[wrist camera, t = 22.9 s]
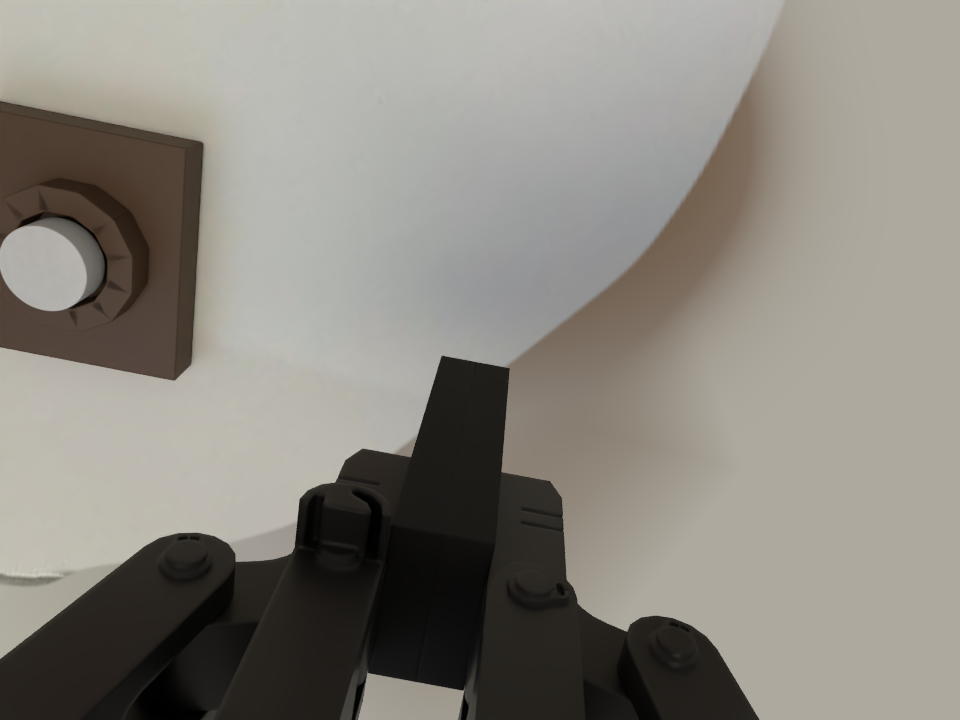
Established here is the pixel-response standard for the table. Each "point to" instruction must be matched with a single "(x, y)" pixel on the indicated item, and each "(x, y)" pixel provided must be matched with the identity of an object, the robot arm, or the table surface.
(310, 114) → the table surface
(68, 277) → the stop button
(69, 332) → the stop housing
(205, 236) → the table surface
